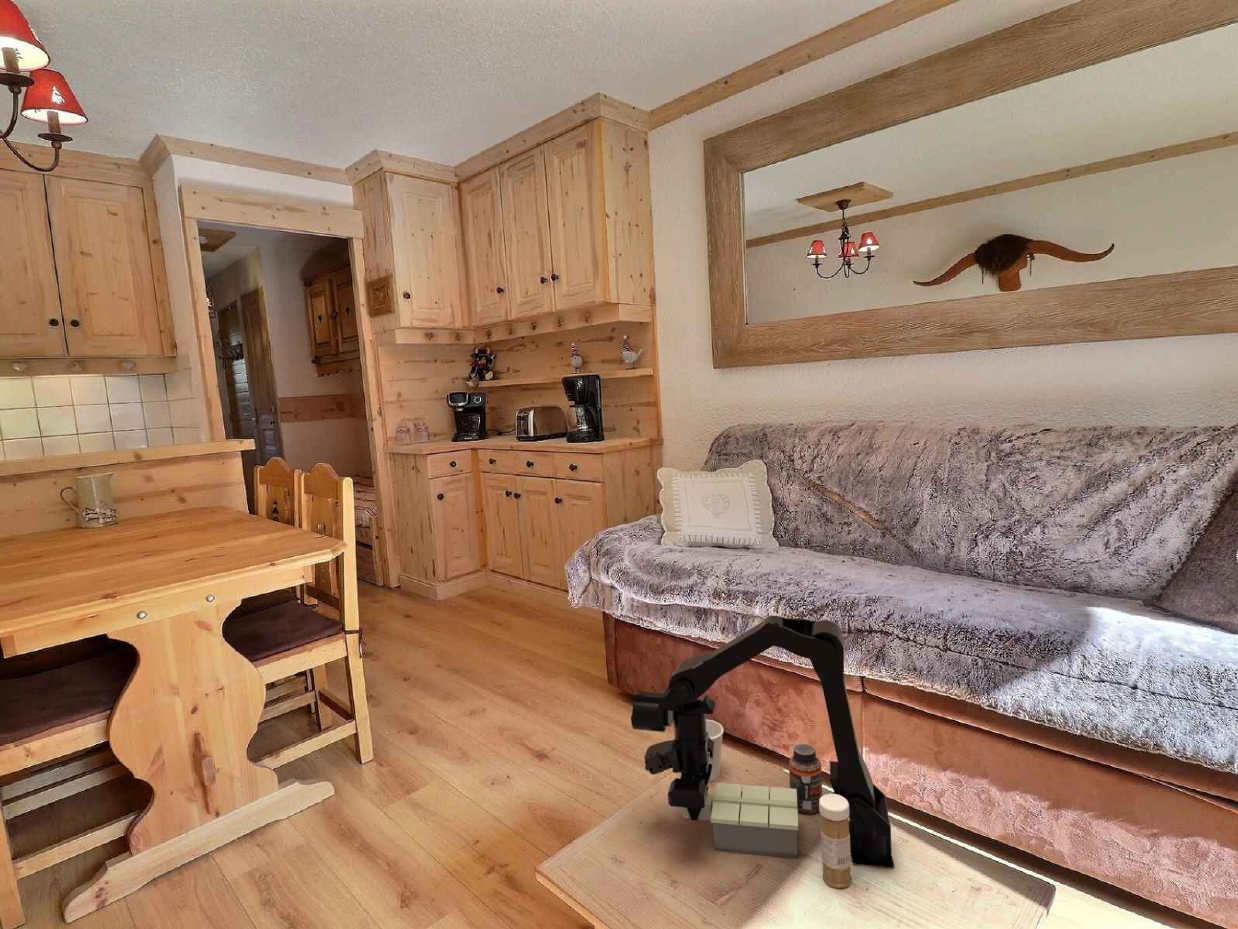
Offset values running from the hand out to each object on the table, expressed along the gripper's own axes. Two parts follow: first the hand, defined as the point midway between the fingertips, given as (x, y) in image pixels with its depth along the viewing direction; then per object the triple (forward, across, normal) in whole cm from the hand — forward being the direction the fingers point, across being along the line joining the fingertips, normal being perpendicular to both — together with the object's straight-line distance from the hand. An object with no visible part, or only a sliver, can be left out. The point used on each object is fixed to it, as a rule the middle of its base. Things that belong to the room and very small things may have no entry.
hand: (695, 814), depth 120 cm
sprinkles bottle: (+3, +9, +24) cm, 26 cm away
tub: (+3, 0, +11) cm, 11 cm away
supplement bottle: (+3, -10, +20) cm, 22 cm away
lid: (0, 0, +8) cm, 8 cm away
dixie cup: (+3, -18, 0) cm, 18 cm away
